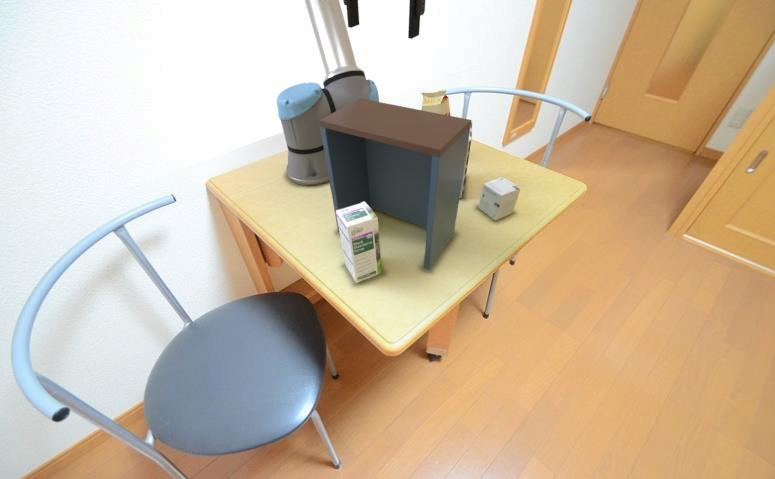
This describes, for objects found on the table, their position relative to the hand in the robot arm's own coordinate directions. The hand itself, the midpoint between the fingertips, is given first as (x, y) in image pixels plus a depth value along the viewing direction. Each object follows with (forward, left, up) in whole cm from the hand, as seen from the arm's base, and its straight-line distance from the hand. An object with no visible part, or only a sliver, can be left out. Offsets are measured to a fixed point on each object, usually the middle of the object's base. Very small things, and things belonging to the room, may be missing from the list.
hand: (382, 31), depth 60 cm
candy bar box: (+14, +12, -37) cm, 41 cm away
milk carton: (+1, +25, -37) cm, 44 cm away
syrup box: (+10, -26, -37) cm, 46 cm away
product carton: (+27, +7, -37) cm, 46 cm away
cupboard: (+10, -13, -37) cm, 40 cm away
